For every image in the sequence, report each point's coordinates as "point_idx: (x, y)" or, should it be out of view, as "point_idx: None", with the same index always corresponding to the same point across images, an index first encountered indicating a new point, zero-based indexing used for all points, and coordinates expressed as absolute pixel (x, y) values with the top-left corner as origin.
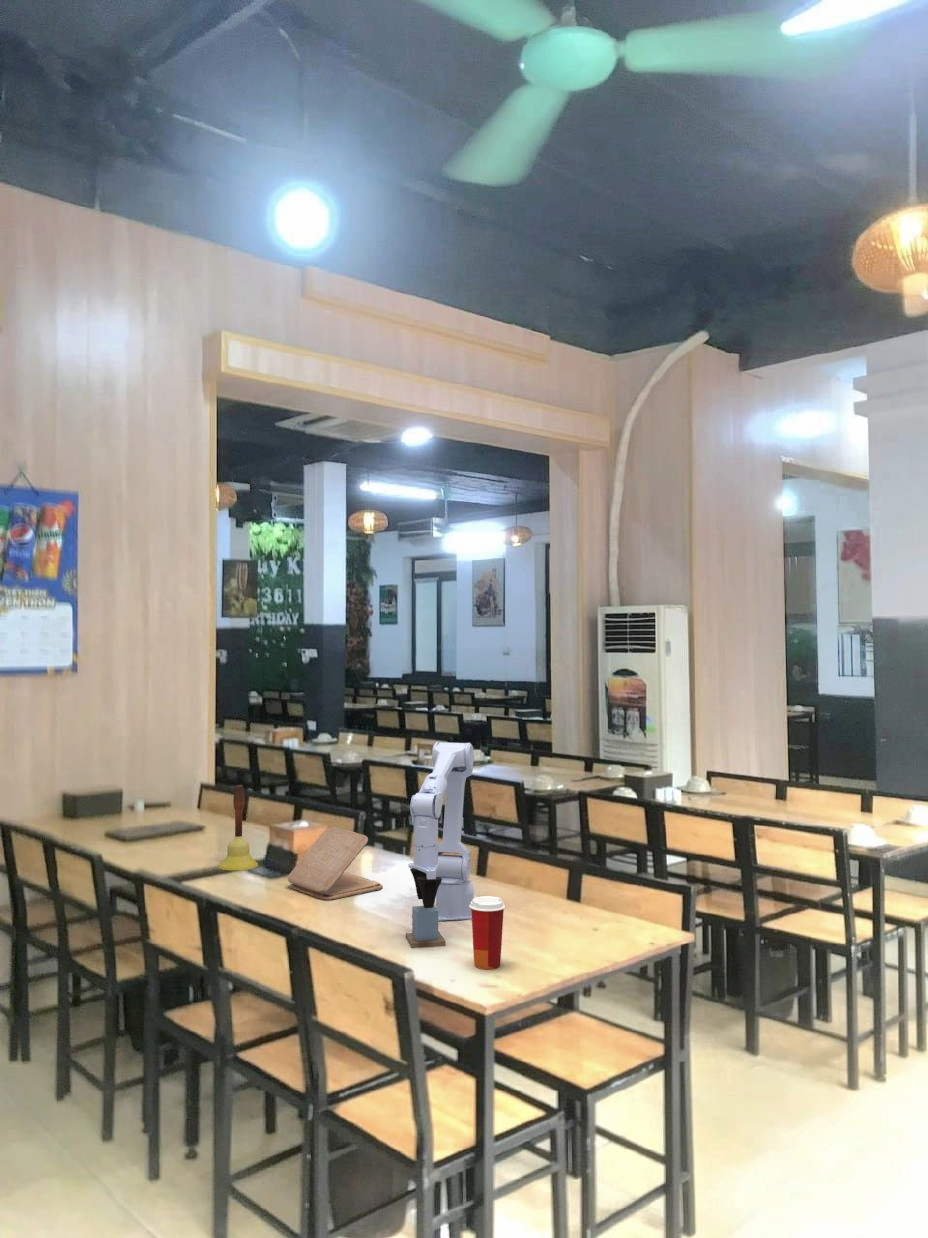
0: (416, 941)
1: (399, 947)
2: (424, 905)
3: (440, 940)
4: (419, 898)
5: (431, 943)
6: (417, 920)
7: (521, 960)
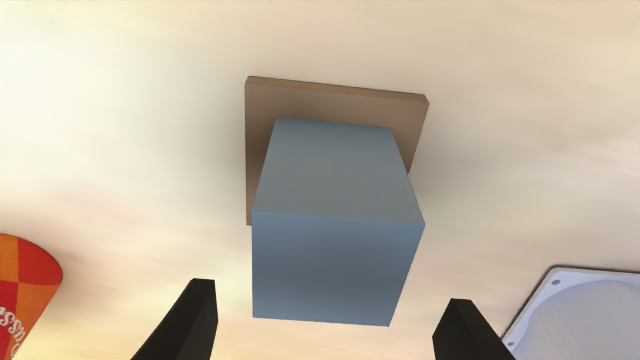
0: (272, 117)
1: (277, 17)
2: (182, 296)
3: None
4: (450, 309)
5: (246, 172)
6: (259, 182)
7: (79, 338)
